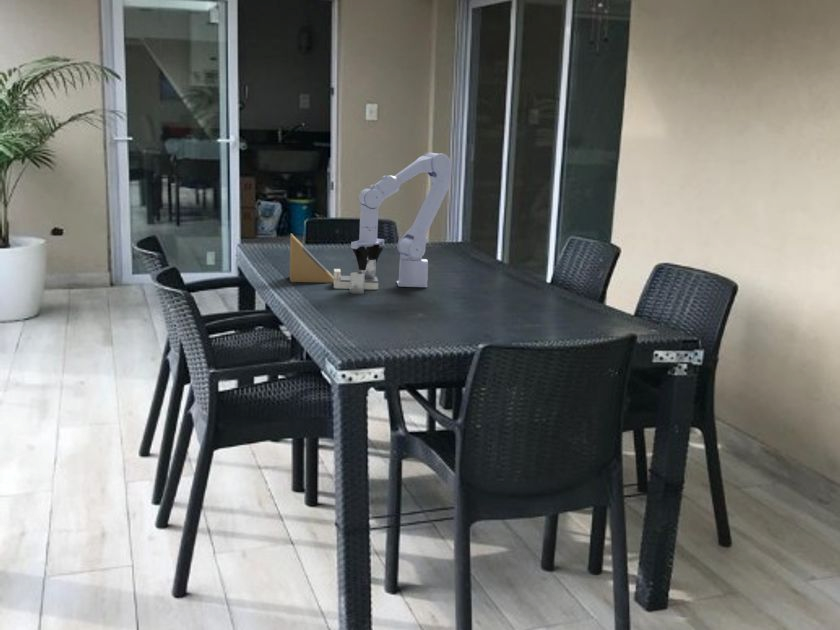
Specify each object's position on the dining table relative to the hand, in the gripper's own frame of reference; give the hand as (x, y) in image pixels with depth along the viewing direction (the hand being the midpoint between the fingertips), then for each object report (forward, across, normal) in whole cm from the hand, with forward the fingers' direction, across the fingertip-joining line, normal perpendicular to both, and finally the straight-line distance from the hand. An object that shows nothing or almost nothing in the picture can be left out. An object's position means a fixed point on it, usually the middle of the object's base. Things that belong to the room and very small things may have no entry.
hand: (366, 269), depth 281 cm
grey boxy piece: (+6, -2, +3) cm, 7 cm away
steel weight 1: (+6, -10, -4) cm, 12 cm away
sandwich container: (+6, -5, +19) cm, 20 cm away
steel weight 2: (+3, 0, -1) cm, 3 cm away
